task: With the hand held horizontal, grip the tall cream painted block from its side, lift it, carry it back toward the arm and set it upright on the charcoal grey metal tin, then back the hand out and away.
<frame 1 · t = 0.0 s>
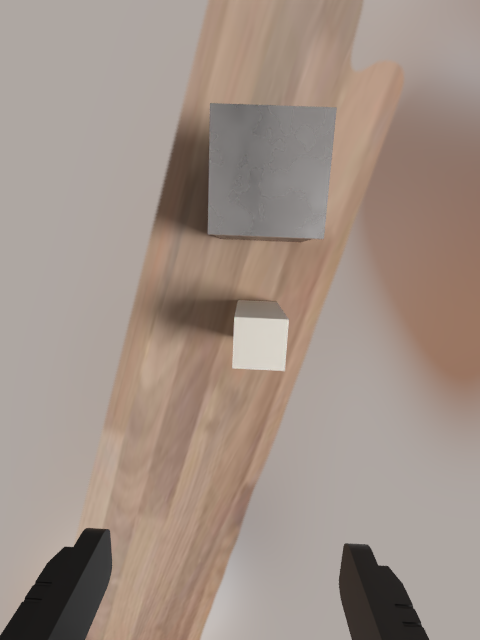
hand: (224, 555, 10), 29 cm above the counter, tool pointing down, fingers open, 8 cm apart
cream block: (256, 319, 38), on the counter
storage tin: (263, 197, 35), on the counter
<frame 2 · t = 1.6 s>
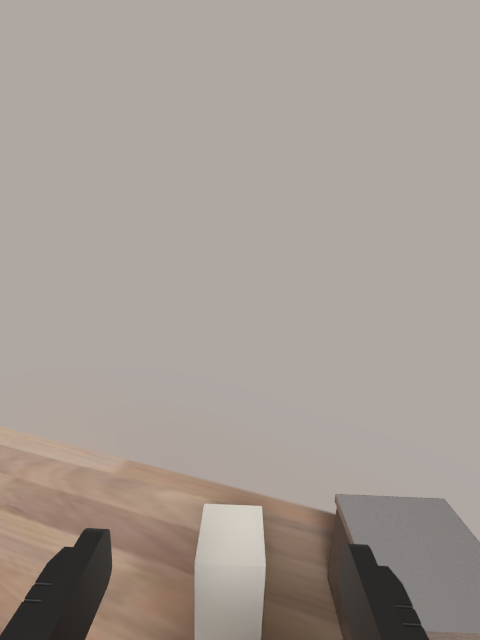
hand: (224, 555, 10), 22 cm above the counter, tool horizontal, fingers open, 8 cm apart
cream block: (228, 634, 25), on the counter
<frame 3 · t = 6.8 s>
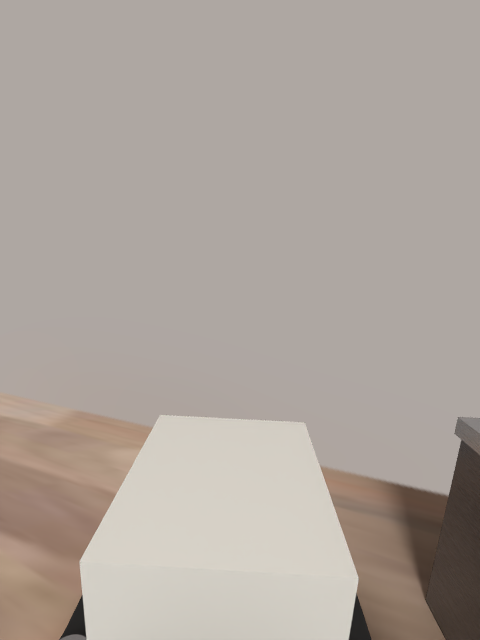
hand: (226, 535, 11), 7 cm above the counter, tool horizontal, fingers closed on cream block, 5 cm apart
when the fingers open (18 cm above the counter, at t = 12.3 s): cream block drops 1 cm, resting on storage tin.
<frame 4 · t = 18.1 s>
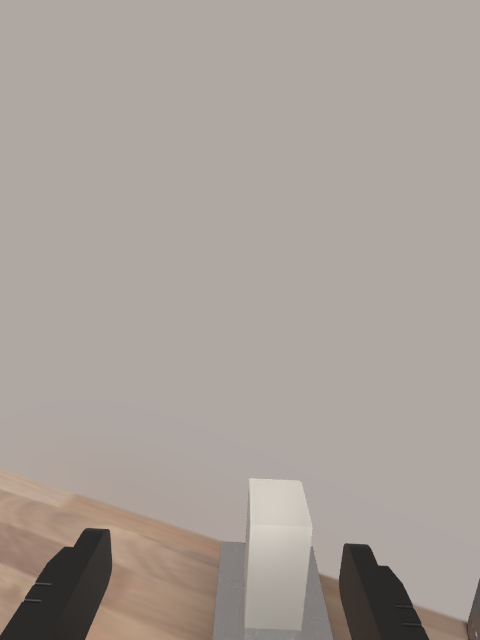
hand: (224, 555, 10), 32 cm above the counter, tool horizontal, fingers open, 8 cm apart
cream block: (270, 596, 28), point 10 cm above the counter, touching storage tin
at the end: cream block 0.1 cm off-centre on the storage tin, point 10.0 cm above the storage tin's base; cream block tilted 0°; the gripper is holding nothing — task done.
